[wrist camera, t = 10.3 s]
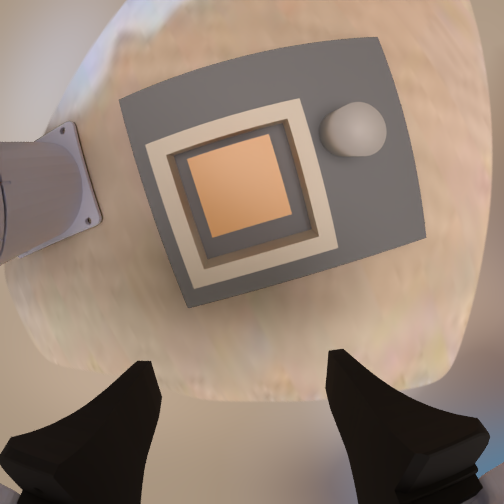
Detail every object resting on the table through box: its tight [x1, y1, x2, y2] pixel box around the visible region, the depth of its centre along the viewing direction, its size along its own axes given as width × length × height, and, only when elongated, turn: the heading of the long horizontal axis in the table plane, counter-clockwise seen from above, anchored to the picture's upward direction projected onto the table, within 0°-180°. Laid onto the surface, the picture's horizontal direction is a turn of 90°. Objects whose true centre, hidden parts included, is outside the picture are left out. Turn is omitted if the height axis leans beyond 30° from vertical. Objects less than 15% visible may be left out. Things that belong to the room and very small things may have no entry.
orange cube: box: [187, 134, 292, 238], centre depth 16 cm, size 4×4×4 cm
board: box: [119, 37, 426, 308], centre depth 17 cm, size 18×15×4 cm
